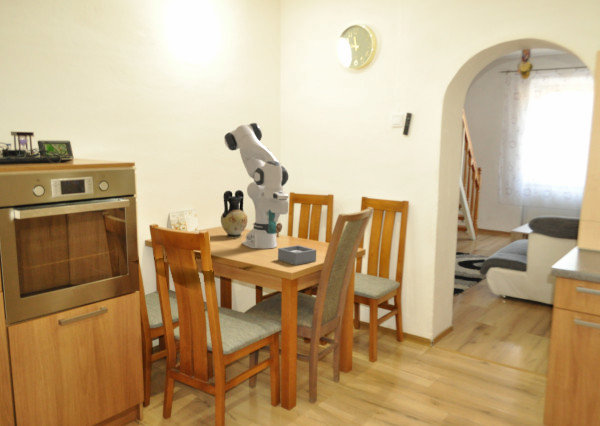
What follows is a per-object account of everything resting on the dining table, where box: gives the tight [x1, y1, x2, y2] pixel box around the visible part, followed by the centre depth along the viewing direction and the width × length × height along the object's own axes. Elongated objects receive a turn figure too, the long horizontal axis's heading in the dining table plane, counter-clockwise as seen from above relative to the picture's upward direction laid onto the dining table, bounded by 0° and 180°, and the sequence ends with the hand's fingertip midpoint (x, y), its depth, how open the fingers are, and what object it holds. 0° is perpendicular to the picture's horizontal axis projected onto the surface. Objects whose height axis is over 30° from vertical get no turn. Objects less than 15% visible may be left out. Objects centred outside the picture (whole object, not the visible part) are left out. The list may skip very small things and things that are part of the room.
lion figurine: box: [276, 222, 283, 238], centre depth 303 cm, size 15×5×9 cm, turn 127°
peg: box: [268, 210, 277, 235], centre depth 236 cm, size 4×4×12 cm
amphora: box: [220, 189, 249, 239], centre depth 299 cm, size 18×17×30 cm
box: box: [277, 244, 317, 266], centre depth 242 cm, size 14×14×6 cm
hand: (272, 221), depth 236 cm, fingers closed on peg, 4 cm apart
